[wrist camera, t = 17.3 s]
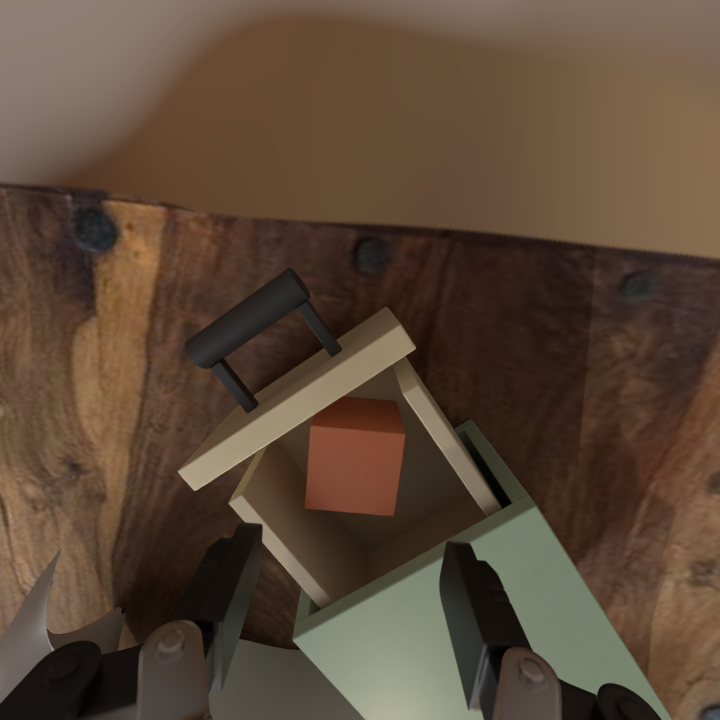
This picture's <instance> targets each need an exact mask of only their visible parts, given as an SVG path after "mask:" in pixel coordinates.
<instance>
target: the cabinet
mask: <svg viewBox="0 0 720 720" xmlns="http://www.w3.org/2000/svg"><path fill="white" fill-rule="evenodd" d="M454 430H455V432H456V433H457V435H458V436H459V438H460V439H461V441H462V443H463V444H464V446H465V447H466V449H467V450H468V452H469V453H470V455H471V456H472V458H473V459H474V461H475V462H476V464H477V465H478V467H479V468H480V470H481V471H482V473H483V474H484V476H485V477H486V479H487V480H488V482H489V483H490V485H491V486H492V488H493V490H494V491H495V493H496V495H497V496H498V498H499V499H500V501H501V503H502V504H503V506H504V508H503V509H502V510H500V511H498V512H496V513H494V514H493V515H491V516H489V517H487V518H485V519H484V520H482V521H480V522H478V523H476V524H475V525H473V526H471V527H469V528H467V529H466V530H464V531H462V532H460V533H458V534H457V535H455V536H453V537H451V538H449V539H448V540H446V541H444V542H442V543H440V544H439V545H437V546H435V547H433V548H431V549H430V550H428V551H426V552H424V553H422V554H421V555H419V556H417V557H415V558H413V559H412V560H410V561H408V562H406V563H404V564H403V565H401V566H399V567H397V568H395V569H394V570H392V571H390V572H388V573H386V574H385V575H383V576H381V577H379V578H377V579H376V580H374V581H372V582H370V583H368V584H367V585H365V586H363V587H361V588H359V589H358V590H356V591H354V592H352V593H350V594H349V595H347V596H345V597H343V598H341V599H340V600H338V601H336V602H334V603H332V604H331V605H329V606H327V607H325V608H323V609H322V610H321V609H320V608H319V607H318V605H317V604H316V603H315V602H314V601H313V600H312V599H311V597H310V596H309V595H308V594H307V593H306V592H305V591H304V589H303V588H302V587H301V592H300V598H299V603H298V609H297V614H296V620H295V626H294V632H293V637H292V640H293V641H294V642H295V643H296V645H297V646H298V647H299V648H300V649H301V650H302V651H303V652H304V653H305V654H306V655H307V657H308V658H309V659H310V660H311V661H312V662H313V663H314V664H315V665H316V666H317V667H318V669H319V670H320V671H321V672H322V673H323V674H324V675H325V676H326V677H327V678H328V679H329V681H330V682H331V683H332V684H333V685H334V686H335V687H336V688H337V689H338V690H339V691H340V693H341V694H342V695H343V696H344V697H345V698H346V699H347V700H348V701H349V702H350V703H351V705H352V706H353V707H354V708H355V709H356V710H357V711H358V712H359V713H360V714H361V715H362V717H363V718H364V719H365V720H484V719H483V715H482V712H476V711H468V707H467V703H466V699H465V695H464V691H463V687H462V683H461V679H460V675H459V671H458V667H457V663H456V659H455V655H454V651H453V647H452V643H451V639H450V635H449V631H448V627H447V623H446V619H445V615H444V611H443V607H442V603H441V598H440V592H439V578H440V572H441V567H442V562H443V556H444V551H445V546H446V543H447V541H456V542H467V543H470V544H471V546H472V548H473V550H474V553H475V555H476V558H477V560H483V561H487V563H488V564H489V565H490V566H491V567H492V568H493V569H494V570H495V571H496V572H497V574H498V576H499V578H500V580H501V582H502V584H503V587H504V591H506V593H507V595H508V597H509V600H510V603H511V604H512V606H513V608H514V611H515V613H516V615H517V617H518V619H519V622H520V624H521V626H522V628H523V630H524V632H525V635H526V637H527V639H528V641H529V643H530V646H531V648H532V650H533V652H535V653H537V654H538V655H540V656H541V657H542V658H543V659H545V660H546V661H547V662H548V663H549V664H550V666H551V667H552V668H553V670H554V671H555V673H556V674H557V676H558V678H559V679H561V680H563V681H565V682H567V683H569V684H571V685H574V686H576V687H579V688H581V689H584V690H586V691H589V692H591V693H594V694H596V695H597V692H598V690H599V688H600V687H601V686H602V685H603V684H606V683H614V684H619V685H621V686H624V687H626V688H628V689H630V690H632V691H633V692H635V693H636V694H638V695H639V696H640V697H642V698H643V699H644V700H645V701H646V702H647V703H648V704H649V705H650V706H651V707H652V708H653V709H654V710H655V712H656V713H657V714H658V715H659V717H660V718H661V719H662V720H672V717H671V715H670V714H669V712H668V710H667V709H666V707H665V706H664V704H663V703H662V701H661V699H660V698H659V696H658V695H657V693H656V692H655V690H654V689H653V687H652V685H651V684H650V682H649V681H648V679H647V678H646V676H645V674H644V673H643V671H642V670H641V668H640V667H639V665H638V663H637V662H636V660H635V659H634V657H633V656H632V654H631V652H630V651H629V649H628V648H627V646H626V645H625V643H624V641H623V640H622V638H621V637H620V635H619V634H618V632H617V630H616V629H615V627H614V626H613V624H612V623H611V621H610V619H609V618H608V616H607V615H606V613H605V612H604V610H603V609H602V607H601V605H600V604H599V602H598V601H597V599H596V598H595V596H594V594H593V593H592V591H591V590H590V588H589V587H588V585H587V583H586V582H585V580H584V579H583V577H582V576H581V574H580V572H579V571H578V569H577V568H576V566H575V565H574V563H573V561H572V560H571V558H570V557H569V555H568V554H567V552H566V550H565V549H564V547H563V546H562V544H561V543H560V541H559V539H558V538H557V536H556V535H555V533H554V532H553V530H552V529H551V527H550V525H549V524H548V522H547V521H546V519H545V518H544V516H543V514H542V513H541V511H540V510H539V508H538V507H537V505H536V504H535V502H534V501H533V500H532V498H531V497H530V496H529V495H528V493H527V492H526V490H525V489H524V488H523V487H522V485H521V484H520V483H519V481H518V480H517V479H516V477H515V476H514V475H513V473H512V472H511V471H510V469H509V468H508V467H507V465H506V464H505V463H504V461H503V460H502V459H501V457H500V456H499V455H498V454H497V452H496V451H495V450H494V448H493V447H492V446H491V444H490V443H489V442H488V440H487V439H486V438H485V436H484V435H483V434H482V432H481V431H480V430H479V428H478V427H477V426H476V424H475V423H474V422H473V421H472V419H469V420H468V421H466V422H464V423H463V424H461V425H459V426H458V427H456V428H454Z"/></svg>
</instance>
